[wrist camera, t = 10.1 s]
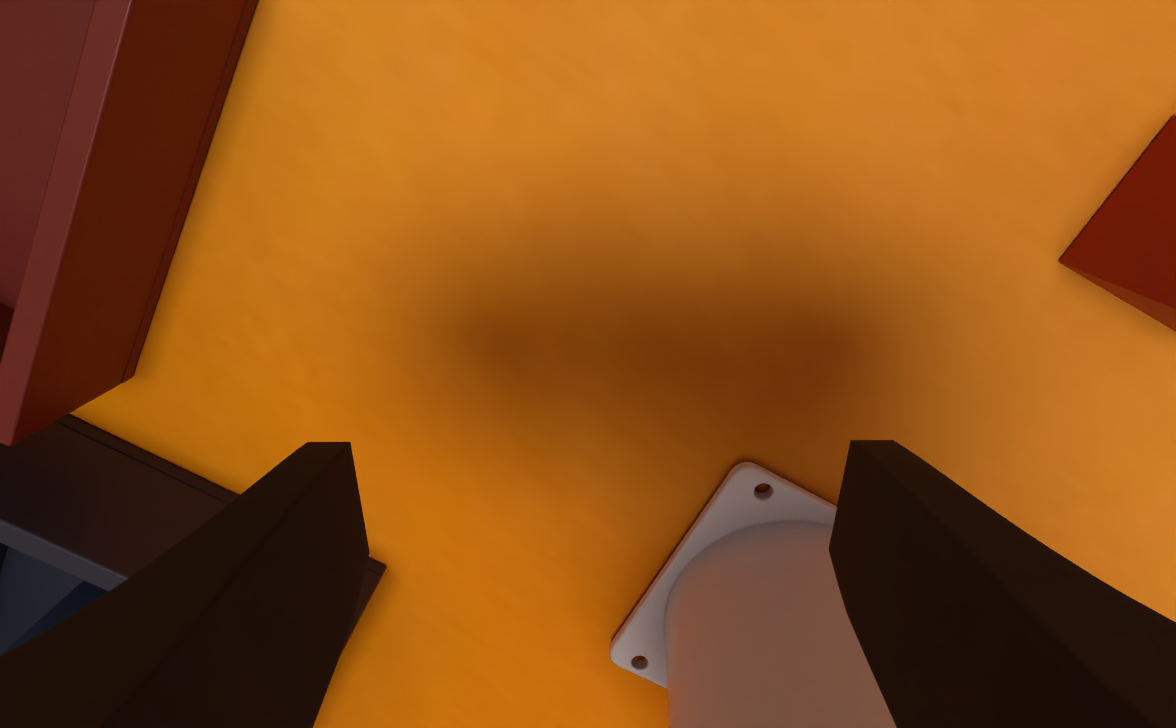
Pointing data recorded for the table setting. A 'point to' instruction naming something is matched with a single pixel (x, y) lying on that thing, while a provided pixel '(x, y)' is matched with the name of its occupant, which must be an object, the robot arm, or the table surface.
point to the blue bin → (94, 518)
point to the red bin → (97, 182)
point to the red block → (1136, 235)
